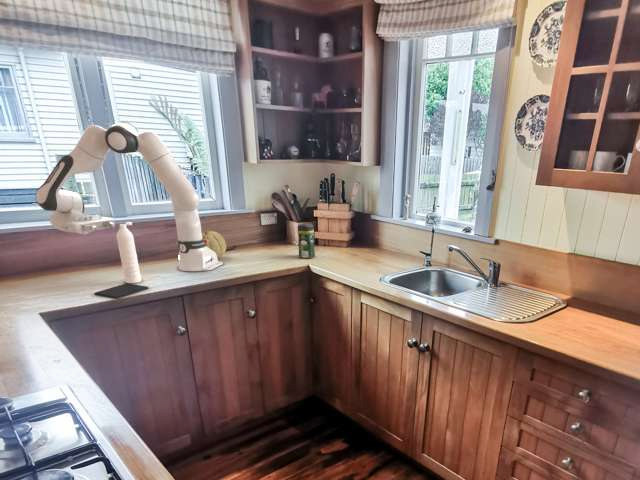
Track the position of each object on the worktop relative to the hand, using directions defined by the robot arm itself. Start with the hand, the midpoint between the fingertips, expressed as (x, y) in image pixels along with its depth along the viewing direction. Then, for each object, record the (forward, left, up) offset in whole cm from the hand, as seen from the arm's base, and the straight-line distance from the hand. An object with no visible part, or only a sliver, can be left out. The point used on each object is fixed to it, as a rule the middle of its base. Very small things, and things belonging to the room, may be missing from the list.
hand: (104, 226), depth 203 cm
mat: (+14, +20, -23) cm, 33 cm away
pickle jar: (-79, +55, -23) cm, 99 cm away
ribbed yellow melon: (-50, +14, -23) cm, 57 cm away
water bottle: (0, +12, -23) cm, 26 cm away
